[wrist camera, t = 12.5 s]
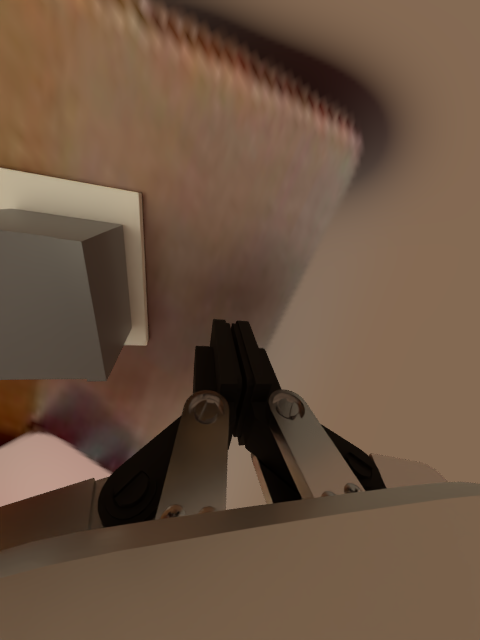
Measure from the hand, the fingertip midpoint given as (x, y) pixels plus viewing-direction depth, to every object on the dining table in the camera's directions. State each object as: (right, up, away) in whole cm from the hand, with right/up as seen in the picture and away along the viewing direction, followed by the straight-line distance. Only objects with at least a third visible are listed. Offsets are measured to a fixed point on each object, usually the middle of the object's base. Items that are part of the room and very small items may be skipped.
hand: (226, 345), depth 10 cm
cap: (-11, +4, +5) cm, 12 cm away
